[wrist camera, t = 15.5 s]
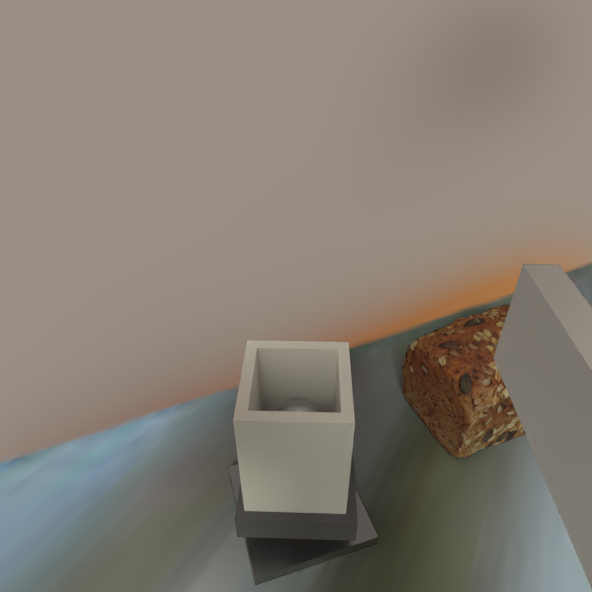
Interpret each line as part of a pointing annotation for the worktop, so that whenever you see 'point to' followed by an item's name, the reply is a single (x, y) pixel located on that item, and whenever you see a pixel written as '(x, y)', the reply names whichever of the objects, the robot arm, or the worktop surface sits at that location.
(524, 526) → the worktop surface
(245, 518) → the dark grey square slab
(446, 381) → the bread
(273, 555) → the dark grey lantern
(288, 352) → the sleeve
